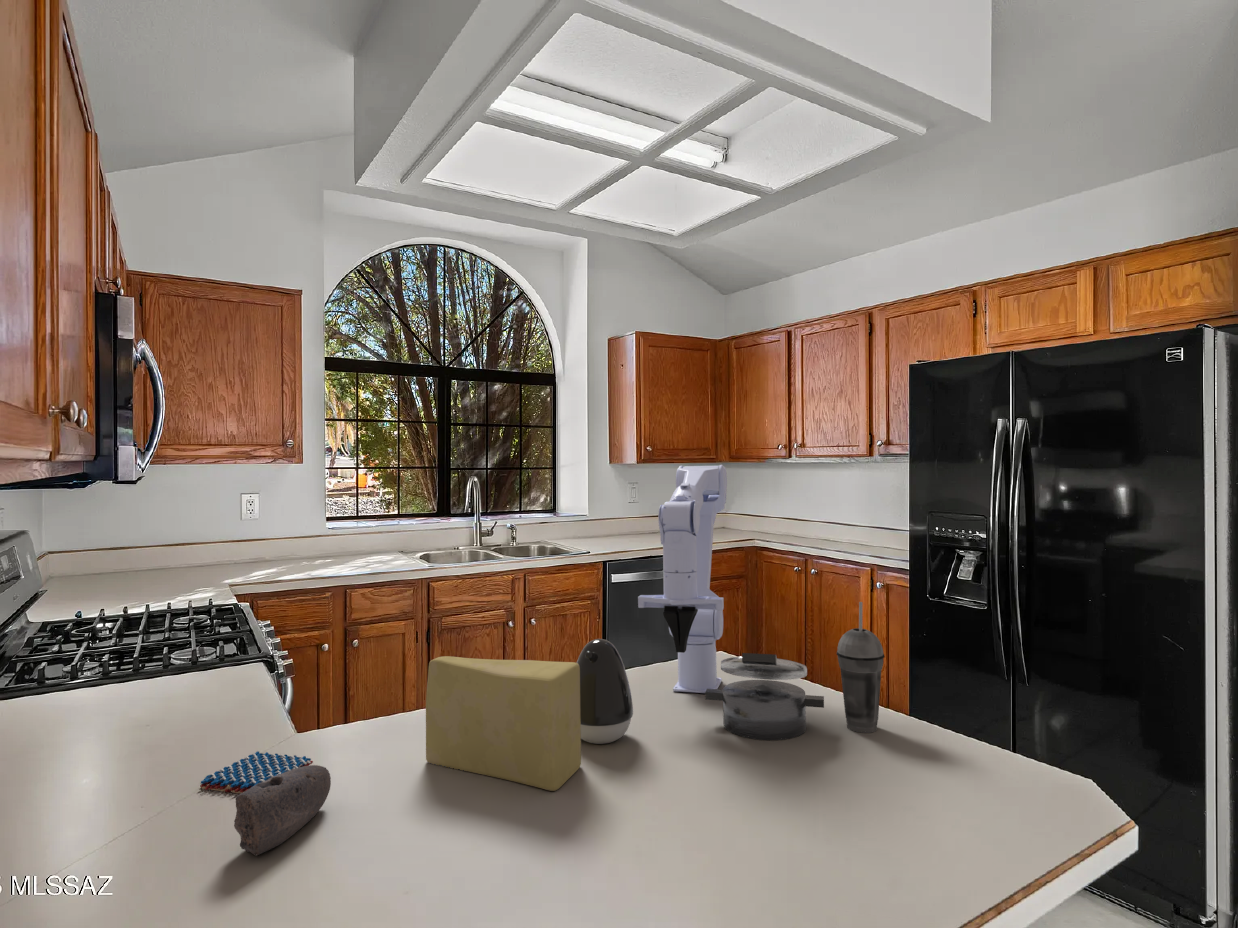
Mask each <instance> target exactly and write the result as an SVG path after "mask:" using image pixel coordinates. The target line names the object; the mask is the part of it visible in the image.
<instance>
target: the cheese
mask: <svg viewBox="0 0 1238 928" xmlns="http://www.w3.org/2000/svg"><path fill="white" fill-rule="evenodd" d="M427 671H428V673H427V682H426V683H427V685H426V696H425V697H426V698H425V760H426V762H427V763H428V762H429V763H428V764H430V763H432V764H431V765H434V764H436V765H435V766H439V765H442V766H441V767H444V766H446V767H445V768H449V767H450V768H449V769H453V768H454V769H455V770H458V769H460V770H459V771H463V770H464V772H467V773H468V772H469V773H473V774H478V775H483V776H488V777H492V778H498V779H501V780H506V781H511V782H514V783H518V784H521V785H522V784H523V785H527V786H531V787H534V788H539V789H542V790H546V791H551V792H555V791H558V790H559V789H560V788H562V786H563V785H564V784H565V783H566V782H567V781H568V780H569V779H570V778H571V777H572V776H574V775H575V773H576V772H578V770H579V769H580V767H581V765H582V739H581V722H580V667H579V664H578V663H577V662H575V661H573V662H572V661H550V660H548V661H547V660H532V659H489V658H488V659H487V658H471V657H469V658H468V657H459V656H448V655H447V656H446V655H445V656H438V657H435V658H434V659H431V660H430V661H429V663H428V670H427Z"/></svg>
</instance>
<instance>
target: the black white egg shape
mask: <svg viewBox="0 0 1238 928" xmlns="http://www.w3.org/2000/svg"><path fill="white" fill-rule="evenodd" d="M577 658H578V659H577V660H576V663H578V664H579V667H580V722H581V741H585V742H587V743H589V744H595V745H602V744H603V745H604V744H610V743H613V742H615V741H618V740H619V739H621V738H622V737H623V736H624V735H625V734H626V733H627V732H628V729H629V726H630V724H631V720H632V718H633V715H634V704H633V697H632V691H631V686H630V682H629V679H628V675H627V672H626V668H625V664H624V663H623V659H622V657H621V655H620V653H619V651H618V650H617V648H616V646H615V645H614V644H613V643H612V642H610V641H608V640H607V639H603V638H596V639H593V640H590V641H588V642H587V643H586V645H584V647H583V648H582V650H581V651H580V654H579V655H578V657H577Z"/></svg>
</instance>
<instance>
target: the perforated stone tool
mask: <svg viewBox="0 0 1238 928" xmlns="http://www.w3.org/2000/svg"><path fill="white" fill-rule="evenodd" d="M331 779H332V778H331V773H330V772H329V769H327V767H325V766H321V765H318V764H313V765H312V764H310V765H309V766H303V767H299V768H296V769H293V770H290V771H287V772H284V773H282V774H279V775H277V776H274V777H271V778H269V779H267V780H266V781H264V782H261V783H258V784H256V785H255V786H253V787H251V788H250V789H248V790H247V791H245V792H243V793H239V794H238V795H236V797H235V808H236V812H235V814H236V815H235V819H234V820H233V821H234V823H233V827H234V829H235V831H236V832H237V833H238V834H239V837H240V843H239V847H241V848H240V849H242V850H245V851H247V853H251V854H252V855H254V856H258V855H261V854H263V853H265V852H268V851H270V850H272V849H273V848H276V847H278V846H280V845H282V844H283V843H284V842H285V841H287V840H288V839H289V838H292V836H293V835H295V834H296V833H297V832H299V831H300V830H301V829H302V828H303V827H304V826H305V825H307V824H308V823H309V822H310V821H311V820H312V819H313V818H314V817H315V816H316V815H317V814H318V813H319V811H320V810H321V808H322V807H323V806H324V804H325V801H326V800H327V799H328V796H329V793H330V790H331V786H332V784H331Z"/></svg>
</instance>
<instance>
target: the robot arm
mask: <svg viewBox="0 0 1238 928" xmlns="http://www.w3.org/2000/svg"><path fill="white" fill-rule="evenodd" d="M727 487H728V476H727V468H726V467H725V466H724V465H723V464H719V465H686V466H685V465H679V466H678V468H677V469H676V473H675V490H674V491H673V493H672V495H671V496H670V499H669V501H665V502H664V503H663V504H660V505H659V508H658V515H657V516H658V520H657V521H658V527H659V528H658V529H659V535H660V545H662V553H663V554H662V561H663V562H662V564H663V565H662V566H663V567H662V568H663V569H662V570H663V576H662V577H663V579H662V580H663V594H640V595H639V596H637V604H638V605H637V606H638V607H637V608H639V609H644V608H652V609H653V608H658V609H663V613H662V614H663V617H664V620H665V622H666V624H667V625H668V631H669V635H671V637H672V639H673V642H674V647H675V653H677V677H678V678H677V682H676V683H675V685H674V686H673V688H672V690H673V692H683V693H697V694H698V693H700V694H705V692H706V690H707V689H719V686H720V685H721V683H722V680H723V679H722V677H718V676H717V665H718V664H717V648H716V646H717V644H716V641H717V640H720V639H721V638H722V637H723V633H724V611H723V610H724V609H725V607H724V606H725V605H724V601H725V600H724V596H723V597H719V595H717V594H716V593H715V592H714V591H712V590H711V589H710V588H711V587H710V586H711V574H712V573H711V572H712V559H713V557H712V556H713V542H714V528H715V527H714V526H715V521H716V517H717V514H718V513H720V512H721V511H723V510H725V505H726V503H727V492H728V491H727V490H728V489H727Z"/></svg>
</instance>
